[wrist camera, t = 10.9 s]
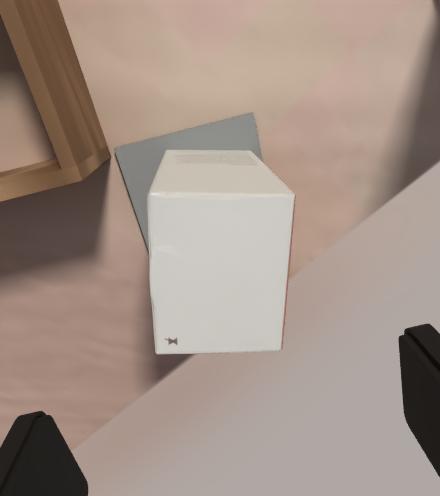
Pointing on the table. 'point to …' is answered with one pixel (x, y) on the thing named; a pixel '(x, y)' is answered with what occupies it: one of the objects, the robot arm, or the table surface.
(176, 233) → the small box
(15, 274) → the table surface
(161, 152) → the pad
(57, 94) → the wooden cubby frame
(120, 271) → the table surface
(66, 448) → the robot arm
